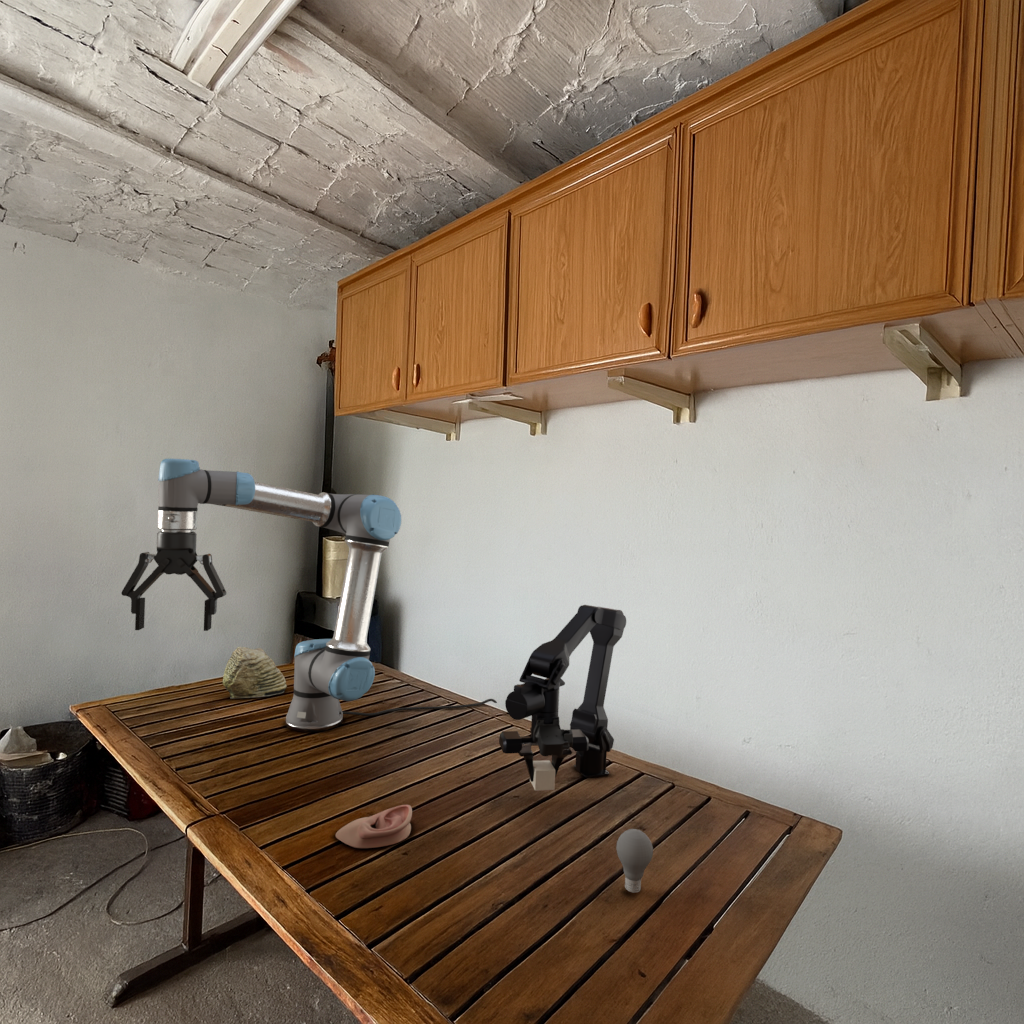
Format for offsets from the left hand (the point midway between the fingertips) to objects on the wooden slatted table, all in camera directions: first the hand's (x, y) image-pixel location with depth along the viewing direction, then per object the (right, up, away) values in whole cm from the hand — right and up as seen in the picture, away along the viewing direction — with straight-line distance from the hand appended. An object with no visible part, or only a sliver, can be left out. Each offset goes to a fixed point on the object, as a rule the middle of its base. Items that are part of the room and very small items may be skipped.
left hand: (173, 629), depth 136 cm
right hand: (+79, -33, +1) cm, 86 cm away
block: (+79, -34, +1) cm, 86 cm away
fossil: (-8, -32, +62) cm, 70 cm away
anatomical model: (+47, -36, -16) cm, 61 cm away
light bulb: (+93, -38, -31) cm, 105 cm away
